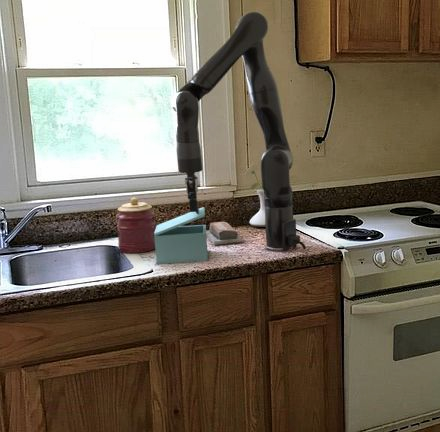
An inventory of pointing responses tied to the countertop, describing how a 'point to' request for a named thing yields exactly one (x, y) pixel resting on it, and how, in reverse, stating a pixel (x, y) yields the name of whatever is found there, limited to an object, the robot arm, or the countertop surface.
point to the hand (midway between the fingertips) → (193, 209)
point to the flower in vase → (260, 216)
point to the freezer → (182, 245)
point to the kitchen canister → (136, 227)
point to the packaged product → (222, 234)
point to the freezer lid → (179, 221)
